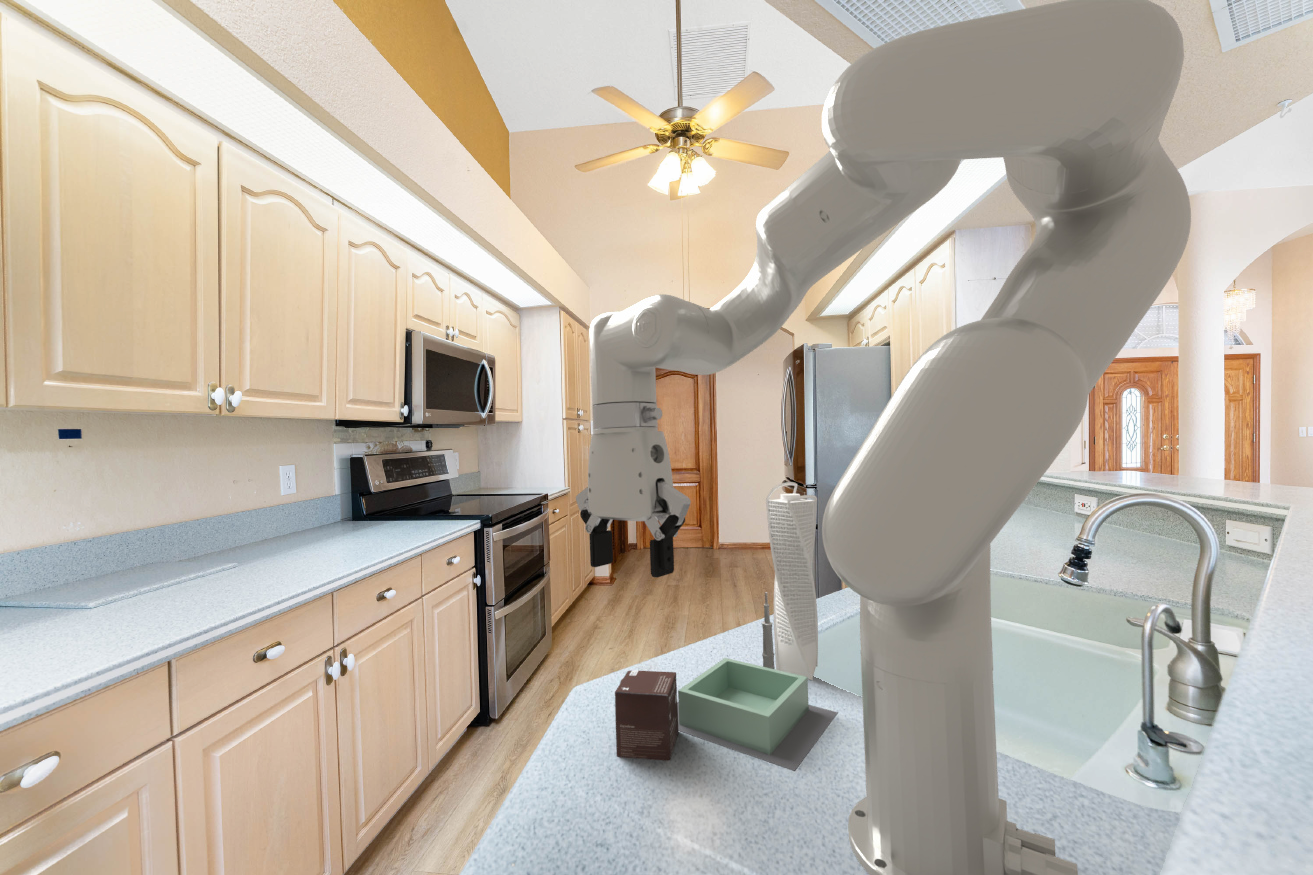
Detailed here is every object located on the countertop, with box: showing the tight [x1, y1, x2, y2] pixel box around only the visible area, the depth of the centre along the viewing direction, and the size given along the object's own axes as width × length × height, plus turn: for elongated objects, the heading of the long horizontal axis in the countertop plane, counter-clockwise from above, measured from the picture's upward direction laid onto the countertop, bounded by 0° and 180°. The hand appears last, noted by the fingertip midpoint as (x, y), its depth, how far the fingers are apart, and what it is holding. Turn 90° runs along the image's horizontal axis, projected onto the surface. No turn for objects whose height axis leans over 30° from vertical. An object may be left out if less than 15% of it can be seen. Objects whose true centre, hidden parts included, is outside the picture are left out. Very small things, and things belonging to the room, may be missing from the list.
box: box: [614, 669, 679, 762], centre depth 59 cm, size 6×6×7 cm
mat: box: [677, 701, 839, 772], centre depth 64 cm, size 18×14×1 cm
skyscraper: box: [761, 481, 819, 681], centre depth 77 cm, size 8×8×28 cm
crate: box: [677, 657, 810, 755], centre depth 64 cm, size 12×12×4 cm
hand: (630, 569), depth 61 cm, fingers open, 9 cm apart
